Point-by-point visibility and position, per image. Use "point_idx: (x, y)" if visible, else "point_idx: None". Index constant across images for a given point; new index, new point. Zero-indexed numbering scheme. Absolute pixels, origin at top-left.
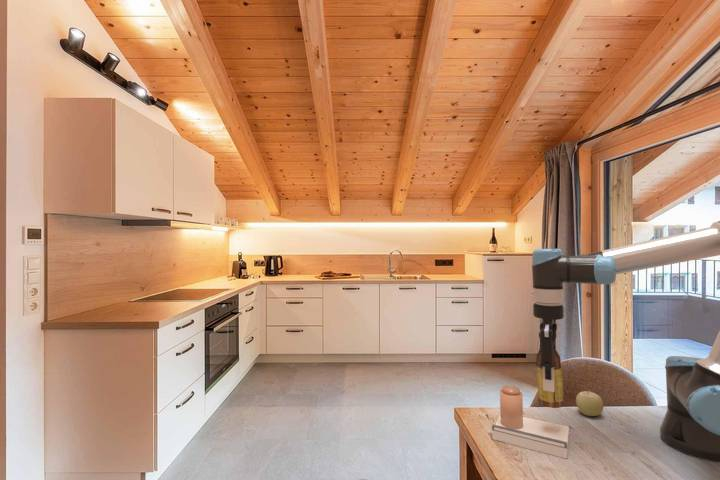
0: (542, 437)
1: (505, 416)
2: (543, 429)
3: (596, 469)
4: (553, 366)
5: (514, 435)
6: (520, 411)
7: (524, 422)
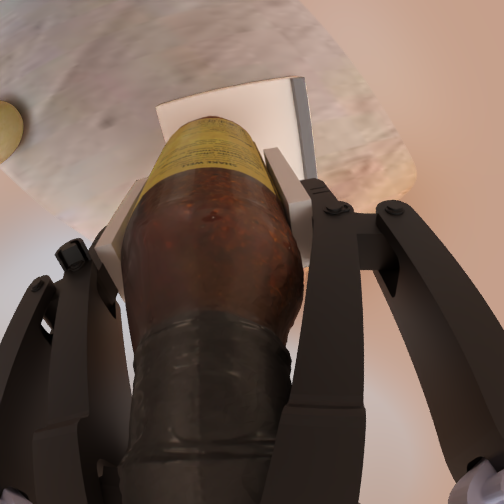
0: (310, 136)
1: None
2: None
3: (296, 17)
4: (337, 203)
5: None
6: None
7: None
